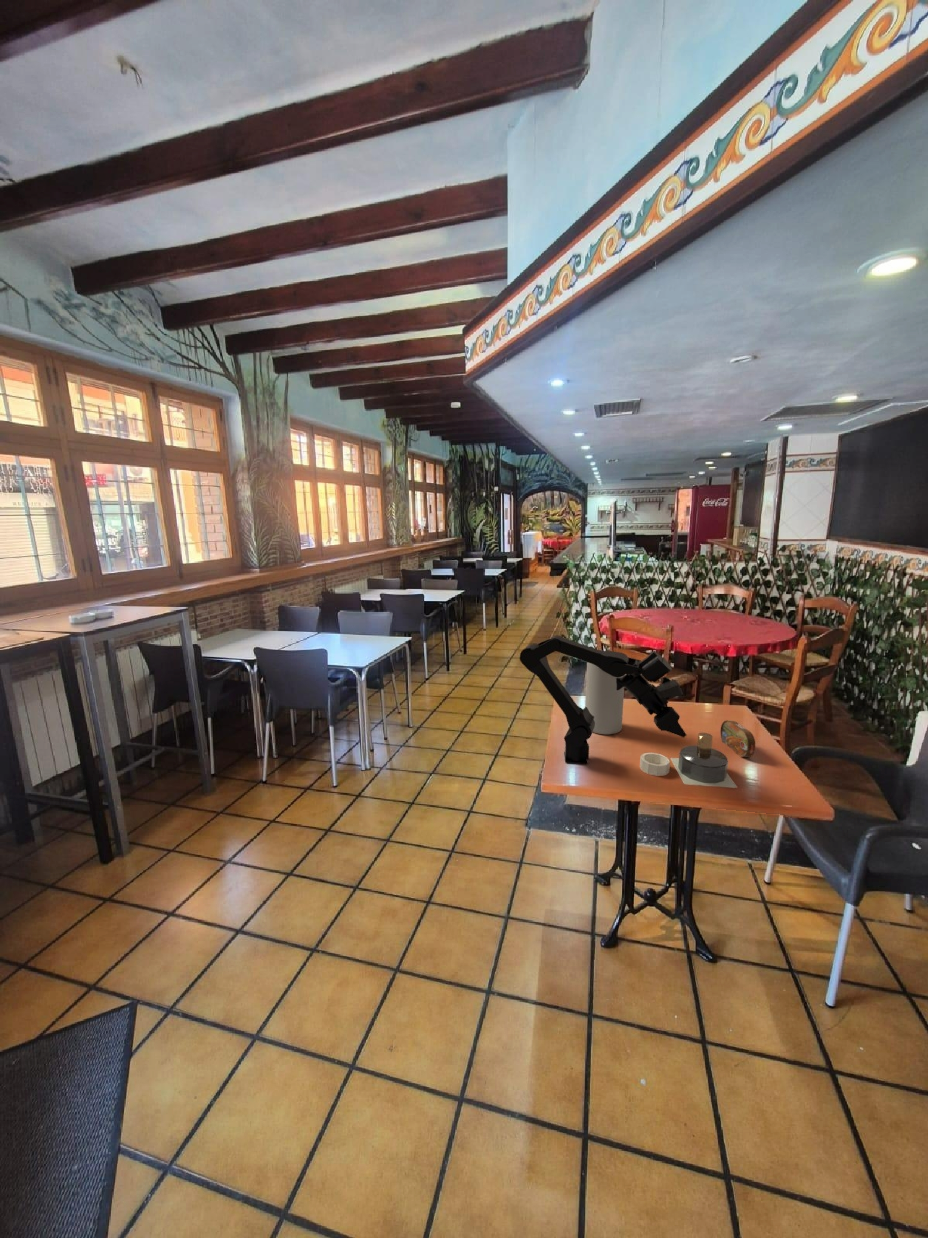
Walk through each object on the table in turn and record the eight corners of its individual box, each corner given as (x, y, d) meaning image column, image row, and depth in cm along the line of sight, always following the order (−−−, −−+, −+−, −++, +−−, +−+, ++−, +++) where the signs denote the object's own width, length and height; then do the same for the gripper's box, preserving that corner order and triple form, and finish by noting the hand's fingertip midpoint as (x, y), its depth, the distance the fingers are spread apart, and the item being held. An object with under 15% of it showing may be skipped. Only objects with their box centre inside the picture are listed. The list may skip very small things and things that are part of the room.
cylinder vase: (617, 721, 176) (621, 653, 171) (625, 736, 164) (629, 664, 159) (582, 719, 177) (585, 653, 172) (587, 734, 165) (590, 663, 160)
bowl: (643, 776, 139) (644, 765, 138) (637, 762, 146) (638, 751, 146) (671, 778, 138) (672, 766, 137) (664, 764, 145) (665, 753, 144)
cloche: (685, 781, 135) (689, 743, 133) (674, 760, 147) (677, 725, 144) (732, 784, 133) (736, 746, 131) (716, 763, 145) (720, 727, 143)
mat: (684, 785, 134) (684, 784, 134) (669, 759, 148) (670, 757, 148) (737, 789, 132) (737, 787, 132) (717, 762, 146) (717, 760, 146)
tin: (718, 740, 161) (721, 716, 159) (728, 739, 161) (730, 715, 159) (744, 762, 146) (747, 736, 144) (755, 762, 146) (758, 736, 144)
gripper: (673, 682, 127) (715, 724, 127) (656, 662, 145) (693, 698, 145) (640, 710, 129) (680, 751, 130) (627, 686, 147) (663, 722, 148)
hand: (680, 729), depth 138 cm, fingers open, 9 cm apart
